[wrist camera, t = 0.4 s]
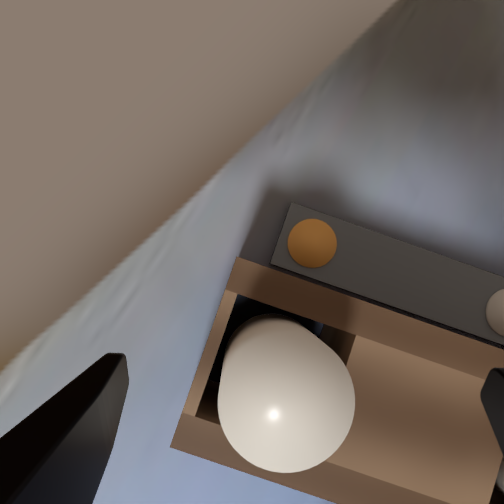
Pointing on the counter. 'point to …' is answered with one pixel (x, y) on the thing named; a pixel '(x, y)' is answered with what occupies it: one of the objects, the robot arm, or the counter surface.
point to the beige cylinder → (283, 395)
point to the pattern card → (391, 272)
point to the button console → (370, 401)
